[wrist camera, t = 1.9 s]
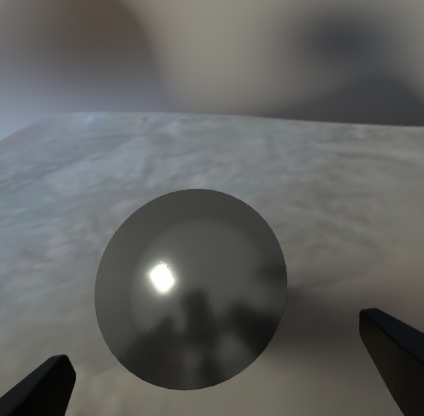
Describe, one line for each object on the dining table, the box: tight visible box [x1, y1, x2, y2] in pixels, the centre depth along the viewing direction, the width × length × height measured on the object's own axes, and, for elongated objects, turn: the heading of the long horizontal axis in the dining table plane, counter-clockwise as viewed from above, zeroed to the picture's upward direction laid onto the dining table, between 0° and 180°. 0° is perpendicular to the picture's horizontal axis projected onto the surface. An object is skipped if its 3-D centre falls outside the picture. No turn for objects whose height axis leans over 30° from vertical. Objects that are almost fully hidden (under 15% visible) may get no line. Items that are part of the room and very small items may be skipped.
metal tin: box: [95, 189, 287, 390], centre depth 11 cm, size 4×4×12 cm
